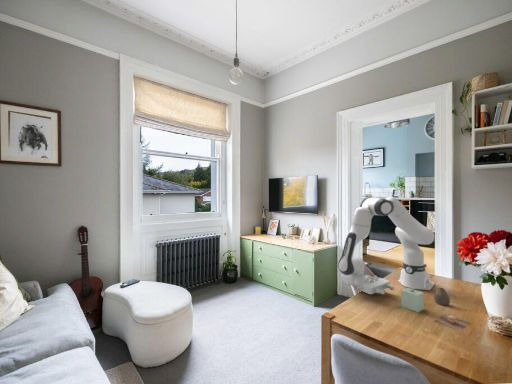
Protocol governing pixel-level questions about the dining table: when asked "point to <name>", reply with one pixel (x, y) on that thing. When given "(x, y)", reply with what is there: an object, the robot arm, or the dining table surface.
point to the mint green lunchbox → (412, 299)
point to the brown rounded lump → (441, 297)
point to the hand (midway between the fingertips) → (389, 290)
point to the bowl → (452, 319)
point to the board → (444, 320)
